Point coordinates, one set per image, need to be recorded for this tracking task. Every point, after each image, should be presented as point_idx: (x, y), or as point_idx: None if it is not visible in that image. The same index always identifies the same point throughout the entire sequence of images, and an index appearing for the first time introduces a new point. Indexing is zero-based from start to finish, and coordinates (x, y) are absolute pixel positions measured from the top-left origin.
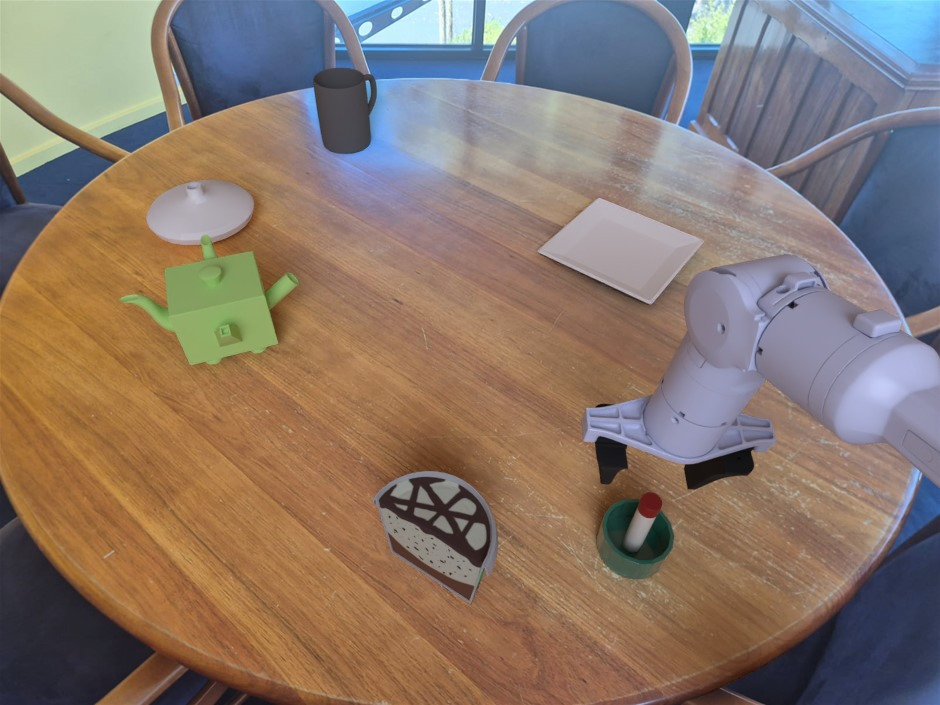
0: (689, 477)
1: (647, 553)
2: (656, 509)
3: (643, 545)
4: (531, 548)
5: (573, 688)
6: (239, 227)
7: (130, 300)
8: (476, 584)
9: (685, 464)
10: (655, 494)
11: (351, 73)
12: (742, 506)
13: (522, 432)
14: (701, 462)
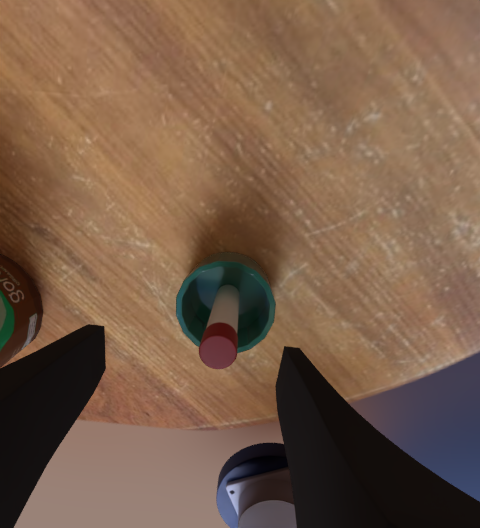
0: (282, 387)
1: (244, 308)
2: (221, 367)
3: (242, 297)
4: (105, 283)
5: (136, 419)
6: None
7: None
8: None
9: (287, 351)
10: (228, 340)
11: None
12: (398, 253)
13: (103, 89)
14: (302, 448)
